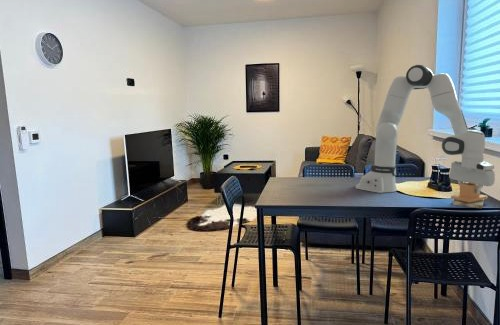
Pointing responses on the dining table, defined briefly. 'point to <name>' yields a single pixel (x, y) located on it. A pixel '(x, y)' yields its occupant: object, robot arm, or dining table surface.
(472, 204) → the post base
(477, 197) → the flange plate
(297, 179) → the dining table surface
